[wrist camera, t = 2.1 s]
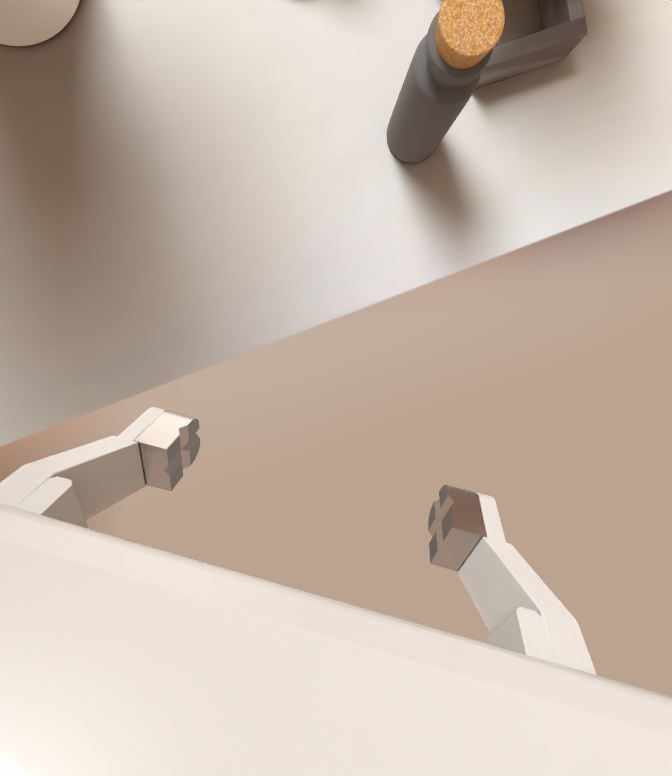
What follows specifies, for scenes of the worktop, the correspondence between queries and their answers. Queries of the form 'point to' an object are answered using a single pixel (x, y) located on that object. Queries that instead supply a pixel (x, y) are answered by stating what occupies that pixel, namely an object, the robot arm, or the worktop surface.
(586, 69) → the worktop surface
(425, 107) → the bottle
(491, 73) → the wooden stand
